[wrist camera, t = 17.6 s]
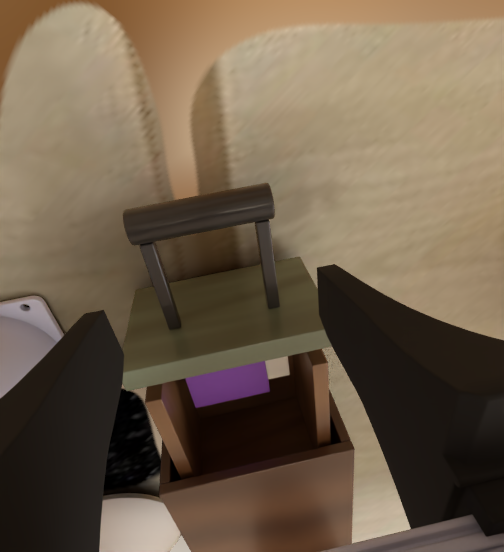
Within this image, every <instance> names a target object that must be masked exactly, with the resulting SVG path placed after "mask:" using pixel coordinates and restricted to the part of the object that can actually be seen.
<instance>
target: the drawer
mask: <svg viewBox="0 0 504 552" xmlns="http://www.w3.org/2000/svg"><path fill="white" fill-rule="evenodd" d="M274 216H275V209H274V201H273V196H272V192H271V188H270V186H269V184H268V183H263V184H258V185H253V186H247V187H242V188H237V189H232V190H226V191H221V192H216V193H211V194H205V195H200V196H195V197H190V198H185V199H179V200H174V201H169V202H163V203H158V204H153V205H148V206H142V207H137V208H132V209H127V210H125V211H124V213H123V221H124V227H125V231H126V234H127V237H128V239H129V241H130V242H131V244H132V245H134V246H135V245H140V249H141V252H142V255H143V258H144V261H145V263H146V266H147V269H148V272H149V275H150V278H151V280H152V283H153V286H152V287H147V288H142V289H137V290H135V294H134V299H133V304H132V308H131V313H130V318H129V322H128V327H127V332H126V337H125V341H124V346H123V353H124V368H123V381H122V383H123V385H124V387H125V389H126V391H130V390H134V389H139V388H143V387H147V390H146V399H145V404H146V406H147V408H148V410H149V412H150V414H151V416H152V418H153V421H154V423H155V425H156V427H157V429H158V431H159V433H160V435H161V437H162V440H163V442H164V444H165V446H166V448H167V450H168V452H169V454H170V456H171V458H172V461H173V463H174V465H175V467H176V469H177V471H178V473H179V475H180V477H181V479H187V478H191V477H195V476H200V475H204V474H208V473H212V472H217V471H221V470H225V469H230V468H234V467H238V466H243V465H247V464H251V463H255V462H260V461H264V460H268V459H273V458H277V457H281V456H286V455H290V454H294V453H298V452H303V451H307V450H311V449H316V448H320V447H324V446H328V445H331V440H330V410H329V381H328V362H327V360H326V357H325V355H324V353H323V351H322V348H327V347H332V345H331V343H330V341H329V339H328V337H327V335H326V332H325V329H324V327H323V324H322V321H321V319H320V316H319V305H318V289H317V287H316V285H315V284H314V282H313V280H312V278H311V276H310V274H309V273H308V271H307V269H306V267H305V265H304V264H303V262H302V260H301V258H300V257H295V258H290V259H285V260H280V261H274V253H273V245H272V237H271V229H270V221H269V219H273V218H274ZM253 222H255V229H256V236H257V242H258V249H259V256H260V262H261V264H260V265H255V266H250V267H246V268H241V269H236V270H231V271H226V272H221V273H216V274H211V275H206V276H201V277H196V278H191V279H186V280H181V281H176V282H172V283H169V282H168V279H167V276H166V273H165V270H164V267H163V264H162V261H161V258H160V255H159V251H158V248H157V245H156V241H161V240H166V239H171V238H176V237H181V236H186V235H191V234H196V233H202V232H207V231H212V230H217V229H222V228H227V227H232V226H237V225H242V224H247V223H253ZM286 356H288V363H289V371H290V375H286V376H282V377H277V378H273V379H268V381H269V387H270V392H266V393H261V394H257V395H252V396H248V397H243V398H239V399H234V400H230V401H225V402H221V403H216V404H212V405H207V406H203V407H198V408H195V405H194V402H193V400H192V397H191V394H190V391H189V388H188V386H187V383H186V380H185V378H189V377H194V376H198V375H203V374H208V373H212V372H217V371H221V370H226V369H231V368H235V367H240V366H244V365H249V364H254V363H258V362H263V361H267V360H272V359H277V358H281V357H286Z"/></svg>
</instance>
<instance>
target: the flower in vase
mask: <svg viewBox="0 0 504 552" xmlns="http://www.w3.org/2000/svg"><path fill="white" fill-rule="evenodd" d="M180 534H181V533H180V531H179V529H178V527H177V526H176V524H175V522H174V520H173V519H172V517H171V515H170V513H169V512H168V510H167V508H166V506H165V504H164V503H163V501H162V499H161V498H159V497H156V496H152V495H146V494H138V493H120V494H111V495H106V496H103V502H102V515H101V529H100V548H99V552H169V551H170V550H171V549H172V548H173V547H174V545H175V544H176V543H177V541H178V539H179V537H180Z"/></svg>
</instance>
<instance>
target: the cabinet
mask: <svg viewBox="0 0 504 552" xmlns="http://www.w3.org/2000/svg"><path fill="white" fill-rule="evenodd" d="M329 410H330V440H331V445H328V446H324V447H320V448H316V449H311V450H307V451H303V452H298V453H294V454H290V455H286V456H281V457H277V458H273V459H268V460H264V461H260V462H255V463H251V464H247V465H243V466H238V467H234V468H230V469H225V470H221V471H217V472H212V473H208V474H204V475H200V476H195V477H191V478H187V479H181V477H180V475H179V473H178V471H177V469H176V467H175V465H174V463H173V461H172V458H171V456H170V454H169V452H168V450H167V448H166V446H165V444H164V442H163V440H162V454H161V471H160V487H159V496H160V497H161V499H162V501H163V503H164V504H165V506H166V508H167V510H168V512H169V513H170V515H171V517H172V519H173V520H174V522H175V524H176V526H177V527H178V529H179V531H180V533H181V534H182V536H183V538H184V540H185V541H186V543H187V545H188V547H189V549H190V550H191V552H320V551H324V550H328V549H332V548H337V547H341V546H345V545H349V544H352V515H353V481H354V447H353V444H352V442H351V441H350V437H349V435H348V432H347V430H346V428H345V425H344V423H343V421H342V418H341V416H340V413H339V411H338V409H337V406H336V404H335V402H334V399H333V397H332V394H331V392H330V390H329Z"/></svg>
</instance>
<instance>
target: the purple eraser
mask: <svg viewBox="0 0 504 552" xmlns="http://www.w3.org/2000/svg"><path fill="white" fill-rule="evenodd" d="M286 375H290V371H289V363H288V356H286V357H281V358H277V359H272V360H267V361H263V362H258V363H254V364H249V365H244V366H240V367H235V368H231V369H226V370H221V371H217V372H212V373H208V374H203V375H198V376H194V377H189V378H185V380H186V383H187V386H188V388H189V391H190V394H191V397H192V400H193V402H194V405H195V408H198V407H203V406H207V405H212V404H216V403H221V402H225V401H230V400H234V399H239V398H243V397H248V396H252V395H257V394H261V393H266V392H270V387H269V381H268V379H273V378H277V377H282V376H286Z"/></svg>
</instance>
